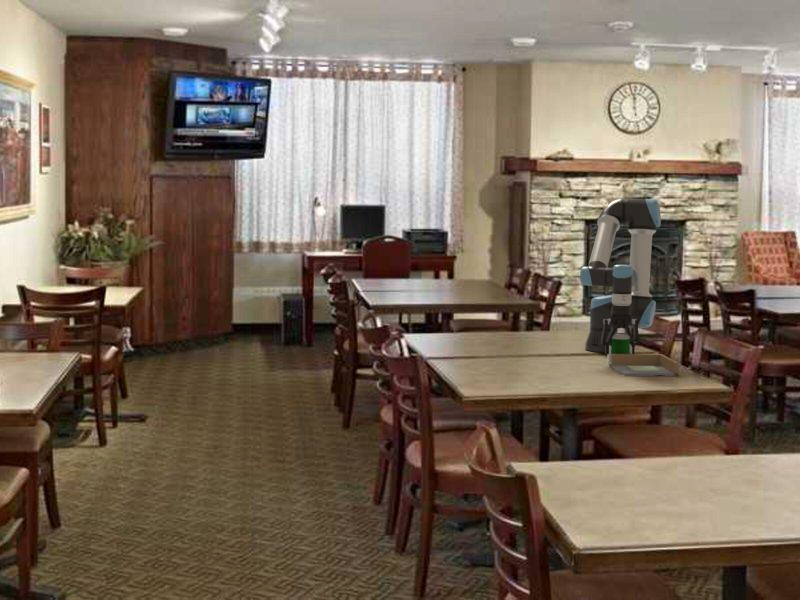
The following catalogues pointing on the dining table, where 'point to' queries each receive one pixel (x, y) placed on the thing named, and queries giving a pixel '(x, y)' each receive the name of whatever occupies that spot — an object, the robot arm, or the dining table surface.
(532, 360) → the dining table surface
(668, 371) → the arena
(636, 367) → the pad
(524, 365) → the dining table surface
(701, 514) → the dining table surface
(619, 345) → the soda can
